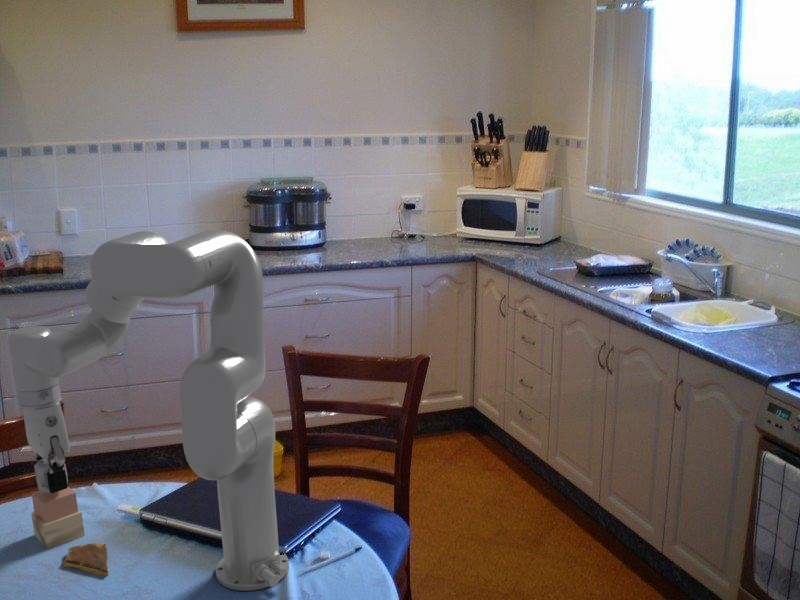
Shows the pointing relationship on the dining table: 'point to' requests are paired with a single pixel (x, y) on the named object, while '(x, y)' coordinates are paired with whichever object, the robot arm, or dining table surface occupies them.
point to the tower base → (58, 529)
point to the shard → (88, 558)
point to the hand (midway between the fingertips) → (52, 483)
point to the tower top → (54, 504)
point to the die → (43, 475)
